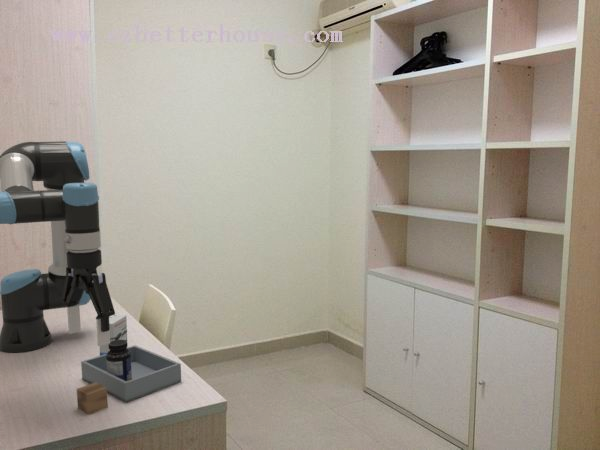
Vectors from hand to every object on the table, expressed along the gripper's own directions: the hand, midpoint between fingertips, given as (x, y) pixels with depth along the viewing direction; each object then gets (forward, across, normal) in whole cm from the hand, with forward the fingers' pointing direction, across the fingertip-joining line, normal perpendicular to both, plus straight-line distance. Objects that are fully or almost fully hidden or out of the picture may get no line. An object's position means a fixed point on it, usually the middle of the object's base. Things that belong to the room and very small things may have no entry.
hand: (88, 338), depth 133 cm
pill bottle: (+17, -7, +12) cm, 22 cm away
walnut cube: (+18, 0, 0) cm, 18 cm away
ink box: (+18, -27, +22) cm, 39 cm away
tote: (+17, -7, +15) cm, 24 cm away
